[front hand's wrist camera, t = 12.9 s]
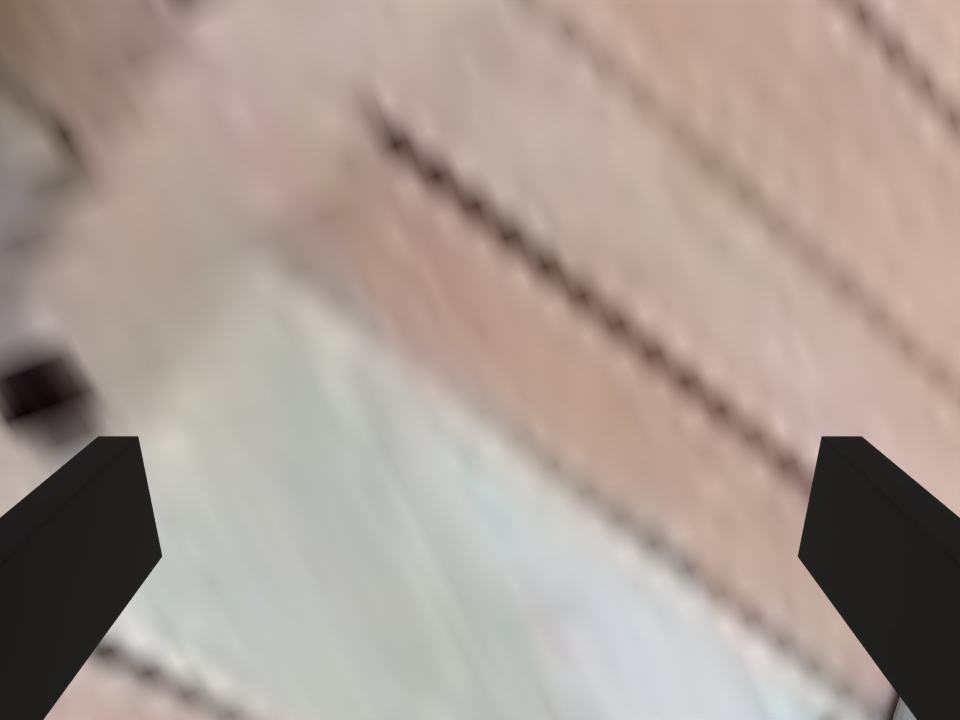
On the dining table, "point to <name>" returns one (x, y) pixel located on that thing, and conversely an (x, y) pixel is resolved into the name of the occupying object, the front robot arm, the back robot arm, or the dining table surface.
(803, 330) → the dining table surface
